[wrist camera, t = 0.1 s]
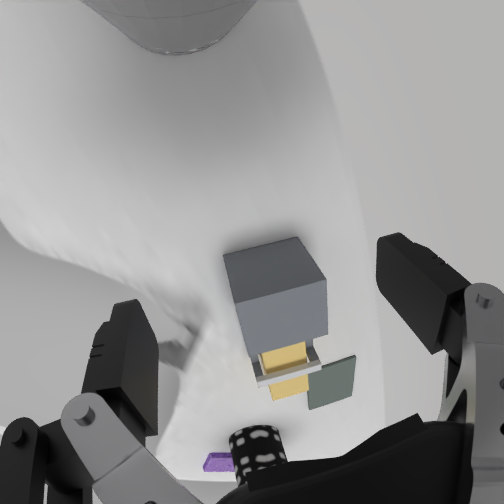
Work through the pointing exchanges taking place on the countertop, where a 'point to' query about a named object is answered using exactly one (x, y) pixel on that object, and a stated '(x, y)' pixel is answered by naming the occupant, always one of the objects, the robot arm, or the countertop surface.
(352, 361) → the mat
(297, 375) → the dispenser
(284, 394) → the wooden block
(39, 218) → the countertop surface
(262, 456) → the white-spotted black cylinder
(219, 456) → the sponges
